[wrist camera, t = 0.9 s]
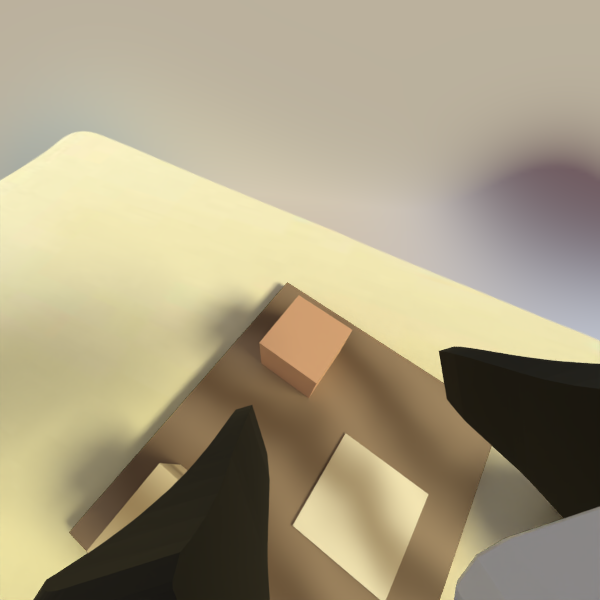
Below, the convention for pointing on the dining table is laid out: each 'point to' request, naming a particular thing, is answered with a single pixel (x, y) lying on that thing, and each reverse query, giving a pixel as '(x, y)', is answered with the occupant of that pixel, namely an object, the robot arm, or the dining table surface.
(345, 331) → the terracotta block
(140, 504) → the birch block
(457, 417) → the brown wooden board
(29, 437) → the dining table surface
